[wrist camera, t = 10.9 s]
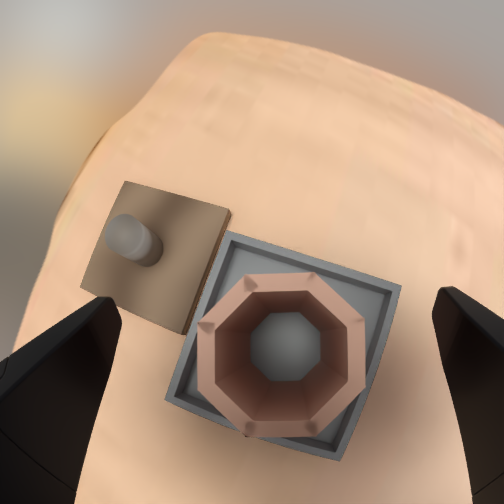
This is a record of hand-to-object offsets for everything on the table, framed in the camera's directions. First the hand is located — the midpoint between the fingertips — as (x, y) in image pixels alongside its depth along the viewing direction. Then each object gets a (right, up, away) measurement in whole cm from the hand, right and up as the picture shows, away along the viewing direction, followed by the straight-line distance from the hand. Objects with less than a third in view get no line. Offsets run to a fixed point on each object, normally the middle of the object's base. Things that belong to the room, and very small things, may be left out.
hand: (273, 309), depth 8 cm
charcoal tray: (+2, -5, +12) cm, 13 cm away
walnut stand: (-8, +1, +15) cm, 17 cm away
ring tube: (+2, -5, +12) cm, 13 cm away
